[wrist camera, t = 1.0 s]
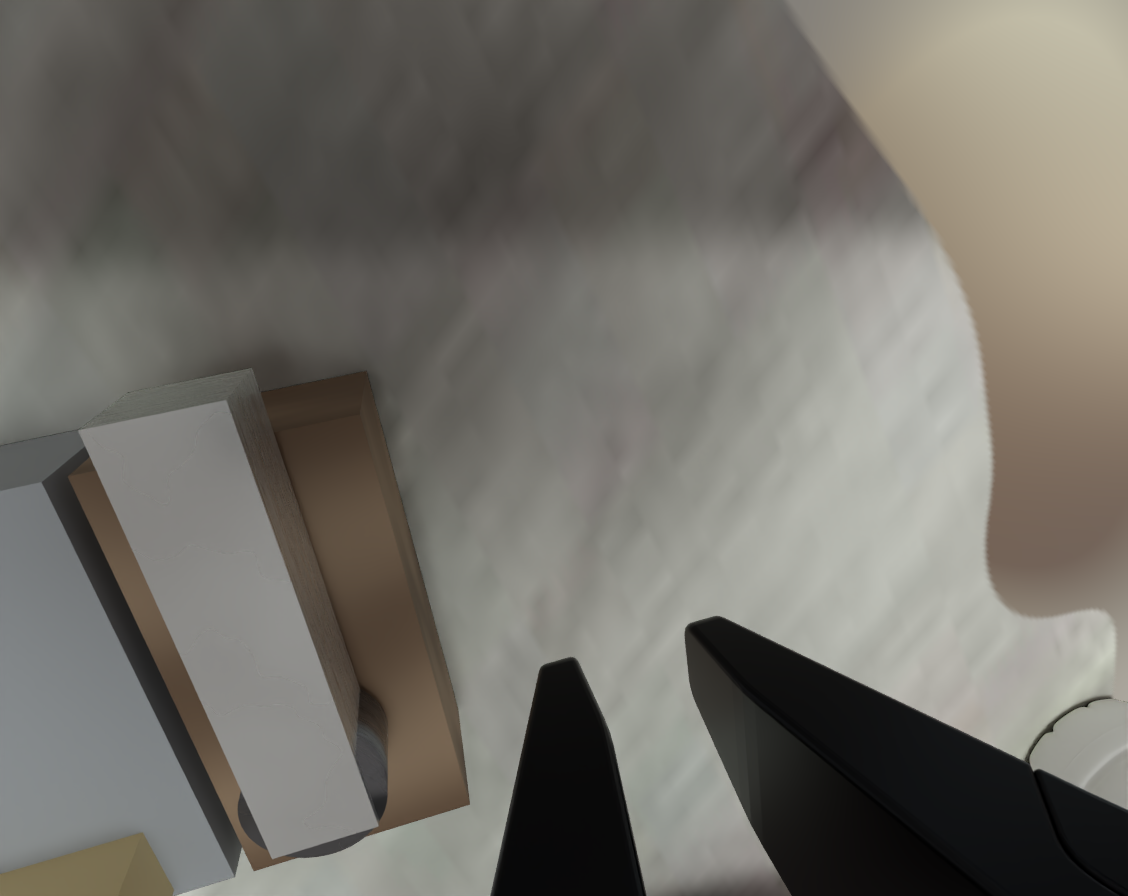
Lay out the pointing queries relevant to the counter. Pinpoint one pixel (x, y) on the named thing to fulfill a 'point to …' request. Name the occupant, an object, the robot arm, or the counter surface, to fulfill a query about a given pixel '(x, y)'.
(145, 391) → the bar
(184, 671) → the jamb block
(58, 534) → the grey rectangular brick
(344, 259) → the counter surface
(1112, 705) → the water bottle
